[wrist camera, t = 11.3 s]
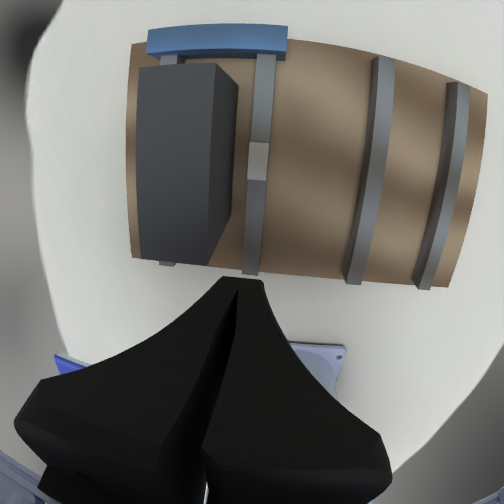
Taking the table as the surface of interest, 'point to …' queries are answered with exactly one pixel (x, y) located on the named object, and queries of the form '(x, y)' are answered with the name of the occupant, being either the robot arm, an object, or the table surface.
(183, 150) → the dark grey tall block
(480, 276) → the table surface
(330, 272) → the board
